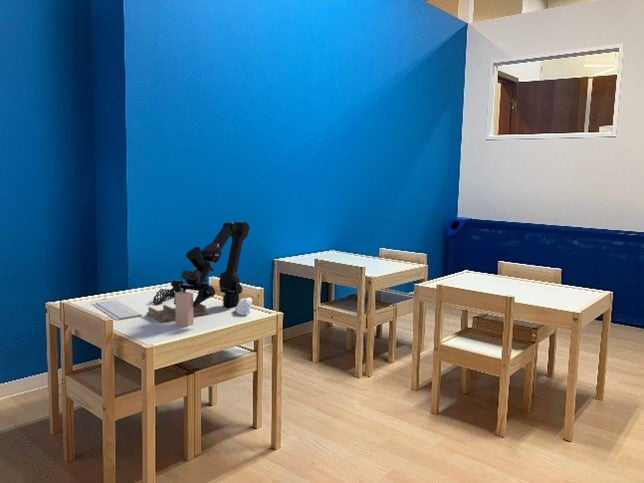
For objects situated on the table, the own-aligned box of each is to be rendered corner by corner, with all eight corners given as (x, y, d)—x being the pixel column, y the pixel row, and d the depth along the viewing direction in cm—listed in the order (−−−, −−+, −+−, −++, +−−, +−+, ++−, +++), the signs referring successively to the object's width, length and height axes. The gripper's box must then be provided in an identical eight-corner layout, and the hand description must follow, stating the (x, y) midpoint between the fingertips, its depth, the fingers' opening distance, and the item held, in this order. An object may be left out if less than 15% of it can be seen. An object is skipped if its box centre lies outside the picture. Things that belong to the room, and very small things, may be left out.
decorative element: (161, 306, 246) (161, 293, 245) (150, 305, 247) (150, 292, 246) (182, 295, 268) (182, 283, 267) (172, 294, 269) (172, 282, 268)
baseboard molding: (113, 322, 220) (142, 318, 228) (112, 315, 220) (141, 311, 228) (89, 306, 244) (116, 303, 252) (89, 300, 244) (116, 297, 251)
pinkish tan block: (181, 322, 220) (180, 291, 219) (193, 324, 218) (193, 292, 216) (175, 324, 217) (175, 292, 216) (187, 326, 215) (187, 294, 213)
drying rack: (191, 307, 244) (191, 299, 243) (208, 314, 233) (208, 306, 232) (146, 314, 230) (146, 306, 230) (161, 322, 219) (161, 314, 219)
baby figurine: (240, 308, 246) (251, 293, 245) (251, 324, 237) (263, 309, 236) (226, 302, 240) (238, 287, 239) (237, 318, 231) (249, 303, 230)
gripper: (173, 260, 223) (155, 291, 214) (211, 264, 215) (194, 297, 207) (185, 276, 231) (168, 306, 222) (222, 280, 224) (206, 312, 215)
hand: (183, 305), depth 216 cm, fingers open, 9 cm apart
